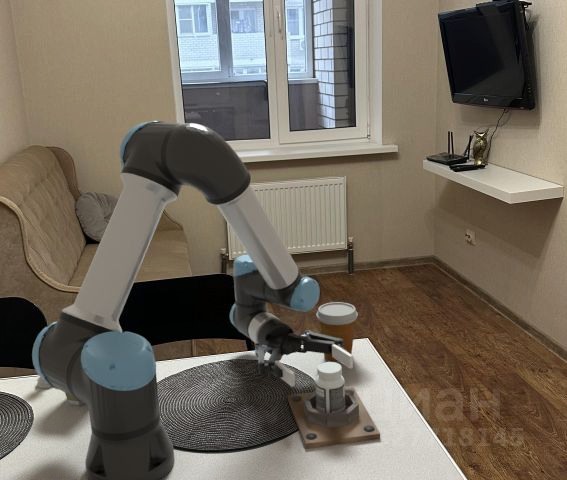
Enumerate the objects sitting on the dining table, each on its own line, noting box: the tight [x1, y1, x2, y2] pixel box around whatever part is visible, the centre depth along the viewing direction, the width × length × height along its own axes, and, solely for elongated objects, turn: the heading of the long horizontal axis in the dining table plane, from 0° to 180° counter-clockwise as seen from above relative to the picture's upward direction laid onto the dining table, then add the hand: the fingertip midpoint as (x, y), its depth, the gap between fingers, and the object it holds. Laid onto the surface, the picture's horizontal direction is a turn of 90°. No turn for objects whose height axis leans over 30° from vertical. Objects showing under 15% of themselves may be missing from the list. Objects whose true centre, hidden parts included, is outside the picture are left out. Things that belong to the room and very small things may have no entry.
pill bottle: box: [314, 361, 346, 413], centre depth 126 cm, size 6×6×10 cm
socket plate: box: [287, 387, 381, 449], centre depth 127 cm, size 14×18×4 cm
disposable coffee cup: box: [315, 301, 358, 363], centre depth 152 cm, size 10×10×12 cm
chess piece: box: [36, 376, 53, 389], centre depth 145 cm, size 5×5×8 cm
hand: (323, 370), depth 128 cm, fingers open, 13 cm apart
